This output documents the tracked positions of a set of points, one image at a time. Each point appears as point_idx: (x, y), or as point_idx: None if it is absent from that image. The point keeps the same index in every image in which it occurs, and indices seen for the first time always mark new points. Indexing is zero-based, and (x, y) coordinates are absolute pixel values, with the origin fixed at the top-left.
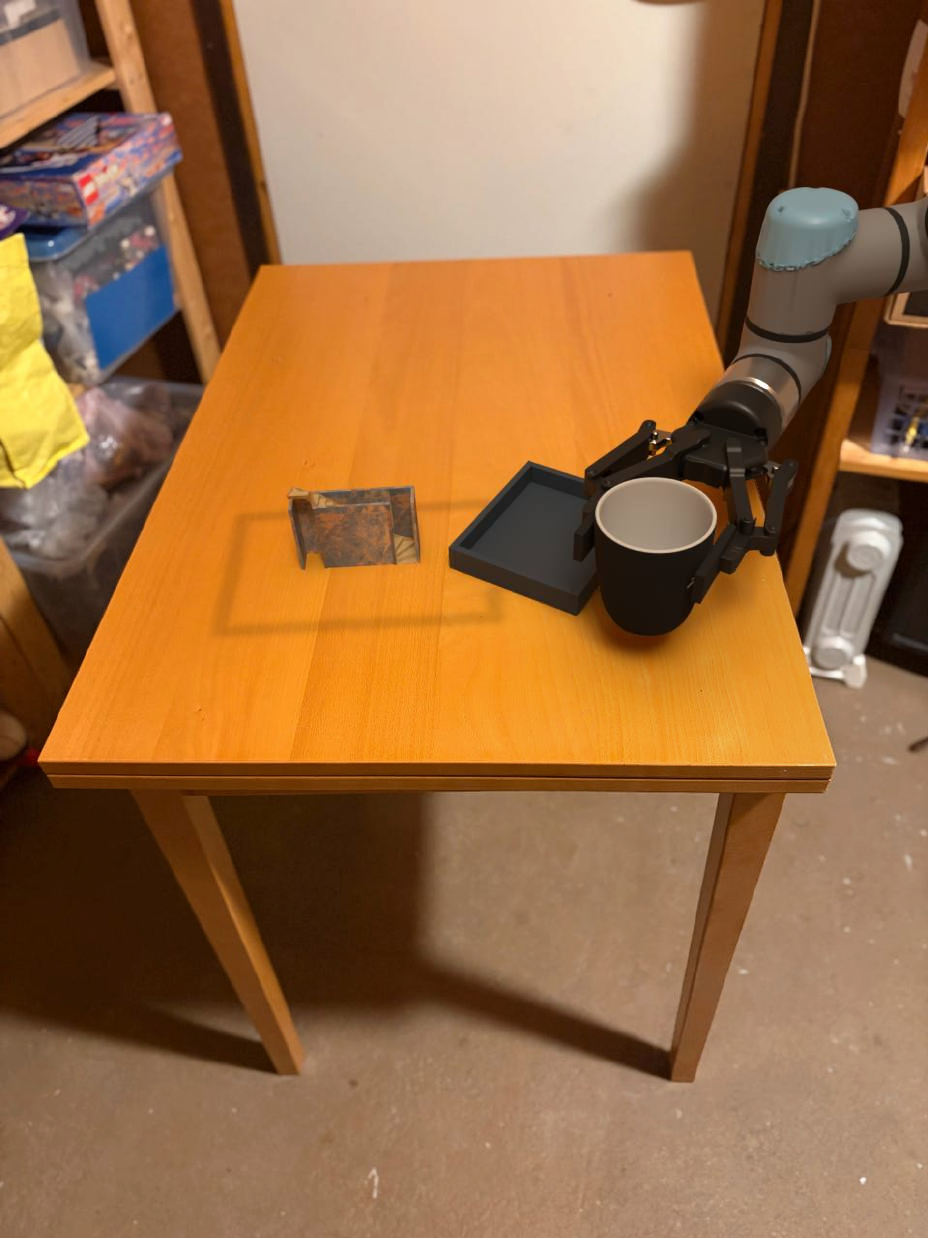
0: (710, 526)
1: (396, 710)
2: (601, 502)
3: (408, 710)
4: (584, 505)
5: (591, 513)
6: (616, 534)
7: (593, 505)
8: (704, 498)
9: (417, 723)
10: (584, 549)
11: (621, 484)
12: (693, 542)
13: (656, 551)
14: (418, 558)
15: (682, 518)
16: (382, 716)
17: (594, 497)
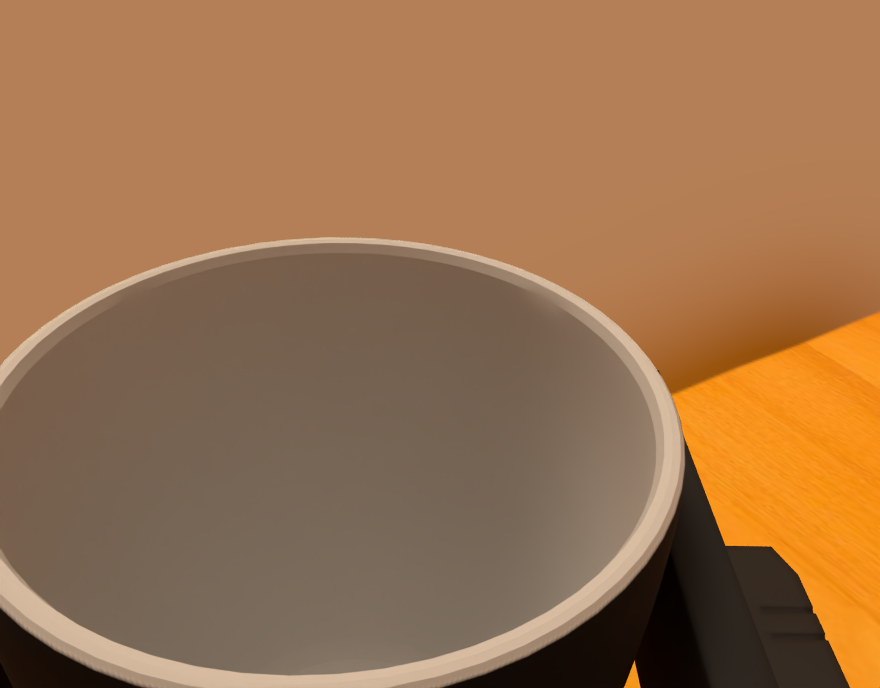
0: (5, 543)
1: (759, 450)
2: (642, 373)
3: (741, 458)
4: (802, 589)
5: (691, 478)
6: None
7: (762, 605)
8: (30, 588)
9: (701, 445)
10: None
11: (654, 508)
12: None
13: (255, 244)
14: None
15: None
16: (766, 433)
17: (819, 670)
